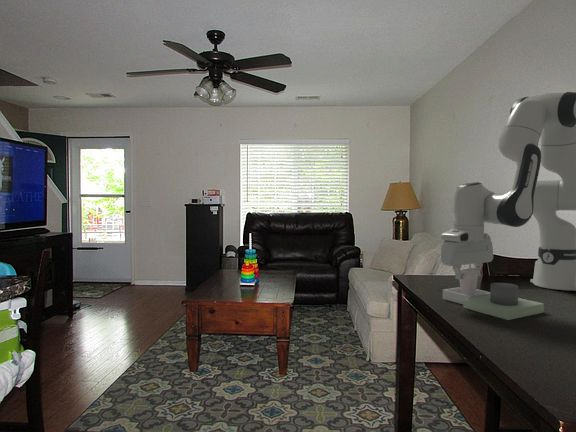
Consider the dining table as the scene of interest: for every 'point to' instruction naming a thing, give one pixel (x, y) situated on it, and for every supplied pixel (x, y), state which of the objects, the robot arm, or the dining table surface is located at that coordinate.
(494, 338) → the dining table surface
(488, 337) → the dining table surface
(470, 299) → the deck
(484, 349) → the dining table surface
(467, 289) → the smoothie
